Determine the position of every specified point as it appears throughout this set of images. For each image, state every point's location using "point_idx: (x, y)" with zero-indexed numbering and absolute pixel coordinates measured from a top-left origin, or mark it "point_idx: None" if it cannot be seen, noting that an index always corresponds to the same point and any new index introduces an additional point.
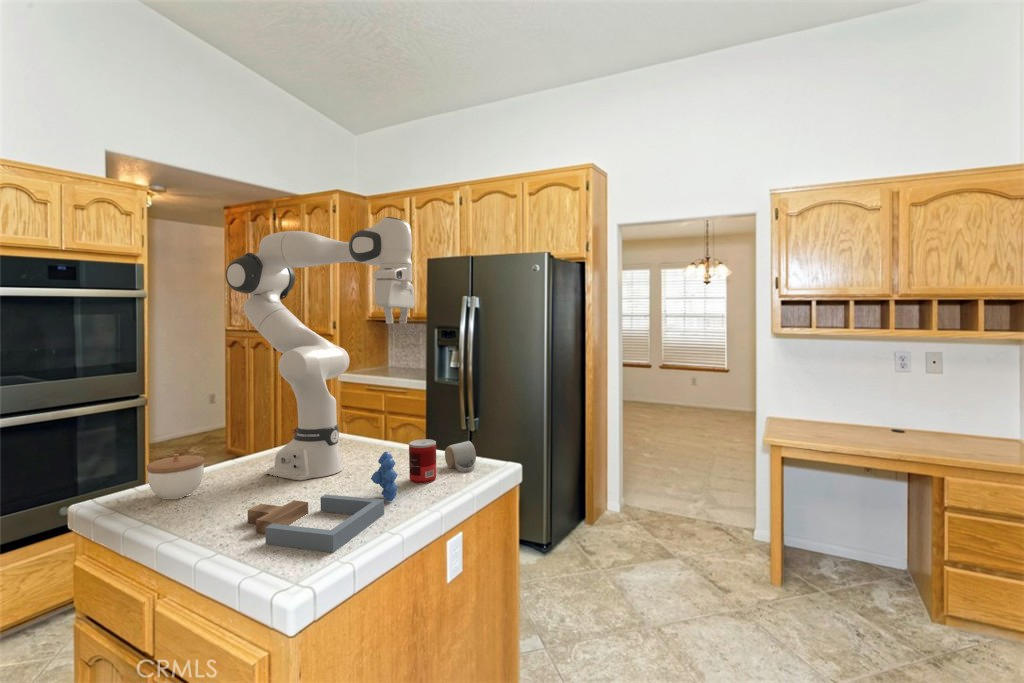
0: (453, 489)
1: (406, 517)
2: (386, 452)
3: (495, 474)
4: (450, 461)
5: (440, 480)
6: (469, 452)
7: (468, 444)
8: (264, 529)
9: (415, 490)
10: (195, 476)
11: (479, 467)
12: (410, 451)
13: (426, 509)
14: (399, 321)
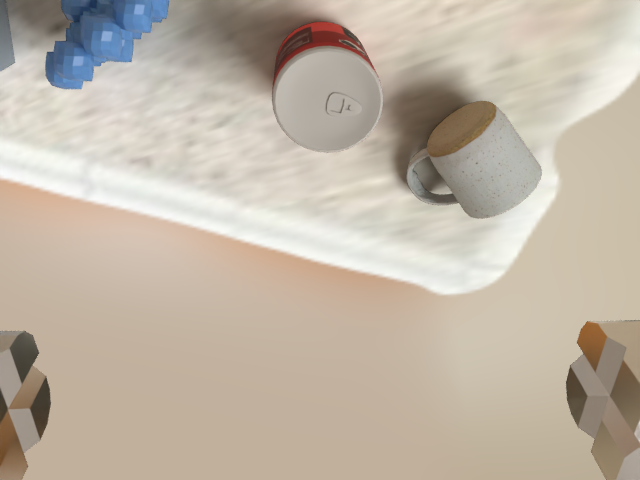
0: (248, 184)
1: (20, 130)
2: (93, 43)
3: (393, 260)
4: (439, 132)
5: None
6: (461, 201)
7: (488, 204)
8: None
9: (217, 78)
10: None
11: None
12: (285, 59)
13: (87, 161)
14: (603, 340)
